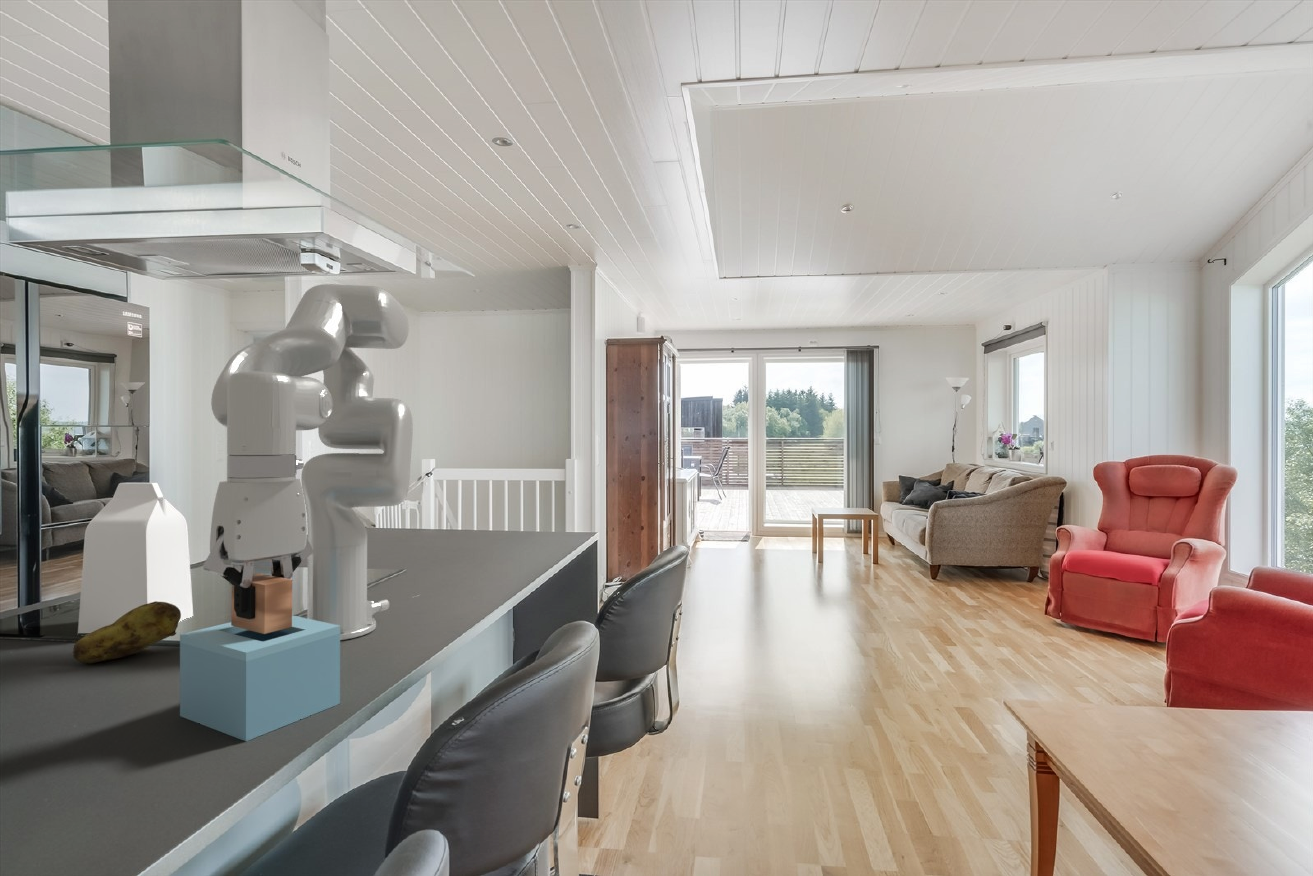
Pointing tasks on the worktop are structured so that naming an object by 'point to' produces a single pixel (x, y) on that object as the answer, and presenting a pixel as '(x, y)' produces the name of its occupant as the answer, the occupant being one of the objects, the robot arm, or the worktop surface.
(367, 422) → the robot arm
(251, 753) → the worktop surface
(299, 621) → the box
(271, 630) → the brown wooden block
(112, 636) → the potato
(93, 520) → the milk
